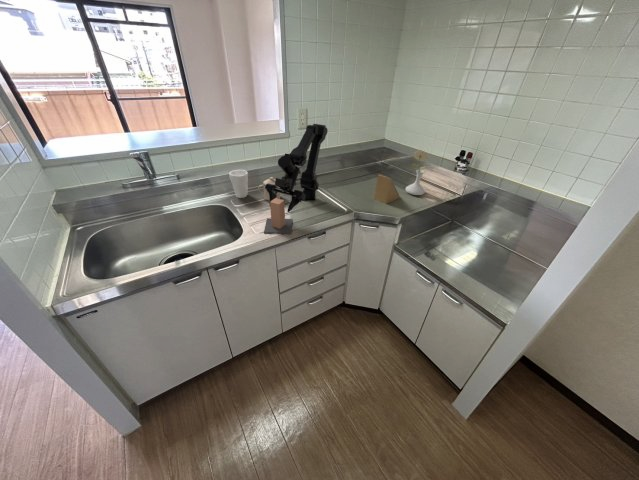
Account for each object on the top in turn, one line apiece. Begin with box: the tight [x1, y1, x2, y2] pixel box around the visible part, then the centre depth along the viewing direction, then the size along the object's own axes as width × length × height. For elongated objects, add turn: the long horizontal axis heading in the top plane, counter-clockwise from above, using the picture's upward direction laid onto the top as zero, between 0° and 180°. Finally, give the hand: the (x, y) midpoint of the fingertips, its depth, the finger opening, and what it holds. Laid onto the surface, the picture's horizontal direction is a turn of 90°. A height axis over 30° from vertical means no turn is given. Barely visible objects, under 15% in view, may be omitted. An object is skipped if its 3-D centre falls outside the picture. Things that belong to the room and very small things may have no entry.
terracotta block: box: [269, 198, 286, 229], centre depth 118 cm, size 4×4×12 cm
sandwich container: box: [373, 174, 401, 205], centre depth 148 cm, size 9×15×15 cm, turn 133°
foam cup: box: [228, 169, 249, 199], centre depth 142 cm, size 10×9×13 cm
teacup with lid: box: [257, 176, 281, 202], centre depth 142 cm, size 12×9×12 cm
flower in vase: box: [405, 149, 429, 196], centre depth 153 cm, size 13×11×25 cm
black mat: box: [263, 218, 293, 235], centre depth 121 cm, size 12×12×1 cm
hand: (279, 209), depth 118 cm, fingers open, 9 cm apart
